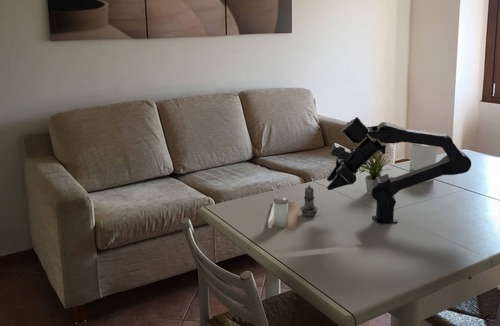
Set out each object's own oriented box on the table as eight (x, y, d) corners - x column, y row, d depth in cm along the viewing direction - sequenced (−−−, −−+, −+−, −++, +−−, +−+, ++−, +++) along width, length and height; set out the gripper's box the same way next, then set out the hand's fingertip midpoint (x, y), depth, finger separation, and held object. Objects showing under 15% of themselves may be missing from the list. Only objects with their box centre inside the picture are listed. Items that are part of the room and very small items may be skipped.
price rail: (277, 204, 198) (277, 196, 197) (271, 231, 174) (271, 222, 174) (274, 204, 198) (274, 196, 198) (267, 231, 175) (267, 222, 174)
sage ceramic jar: (290, 226, 175) (290, 200, 172) (275, 228, 174) (275, 201, 171) (286, 221, 179) (286, 195, 177) (272, 222, 178) (271, 196, 176)
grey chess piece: (306, 213, 189) (306, 180, 185) (321, 217, 185) (321, 184, 182) (297, 219, 184) (296, 185, 181) (311, 222, 181) (311, 188, 177)
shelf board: (300, 205, 197) (300, 202, 197) (296, 232, 173) (296, 228, 173) (275, 204, 198) (275, 201, 198) (268, 231, 174) (268, 228, 174)
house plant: (362, 184, 219) (364, 144, 214) (396, 189, 212) (399, 148, 207) (349, 194, 207) (351, 153, 202) (385, 200, 200) (388, 157, 195)
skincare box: (408, 178, 225) (410, 141, 221) (420, 175, 228) (423, 139, 224) (422, 183, 218) (425, 145, 214) (435, 181, 221) (438, 143, 216)
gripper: (344, 129, 184) (311, 160, 189) (346, 142, 167) (309, 176, 171) (367, 152, 185) (333, 182, 190) (371, 167, 168) (334, 200, 172)
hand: (327, 184), depth 181 cm, fingers open, 9 cm apart
